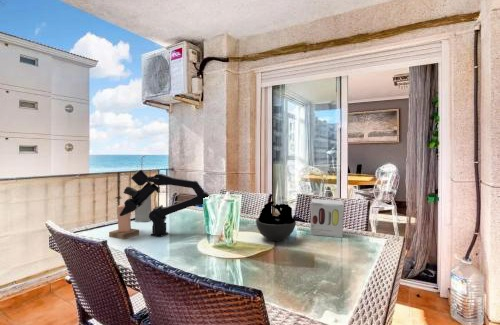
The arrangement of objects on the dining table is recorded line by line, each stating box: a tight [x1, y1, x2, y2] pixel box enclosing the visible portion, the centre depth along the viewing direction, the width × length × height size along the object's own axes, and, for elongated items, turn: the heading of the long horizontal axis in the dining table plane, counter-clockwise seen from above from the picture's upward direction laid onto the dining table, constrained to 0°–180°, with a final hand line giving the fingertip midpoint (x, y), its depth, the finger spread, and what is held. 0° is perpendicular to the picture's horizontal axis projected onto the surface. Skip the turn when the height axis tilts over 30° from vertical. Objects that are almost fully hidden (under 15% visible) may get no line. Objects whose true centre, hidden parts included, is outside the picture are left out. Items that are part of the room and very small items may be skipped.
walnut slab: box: [108, 228, 140, 240], centre depth 145 cm, size 10×10×3 cm
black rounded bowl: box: [255, 200, 297, 242], centre depth 142 cm, size 20×20×19 cm
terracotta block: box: [116, 204, 132, 232], centre depth 144 cm, size 5×5×13 cm
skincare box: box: [134, 195, 152, 223], centre depth 177 cm, size 8×7×16 cm
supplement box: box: [309, 198, 345, 238], centre depth 157 cm, size 17×13×18 cm
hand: (122, 213), depth 144 cm, fingers open, 9 cm apart
